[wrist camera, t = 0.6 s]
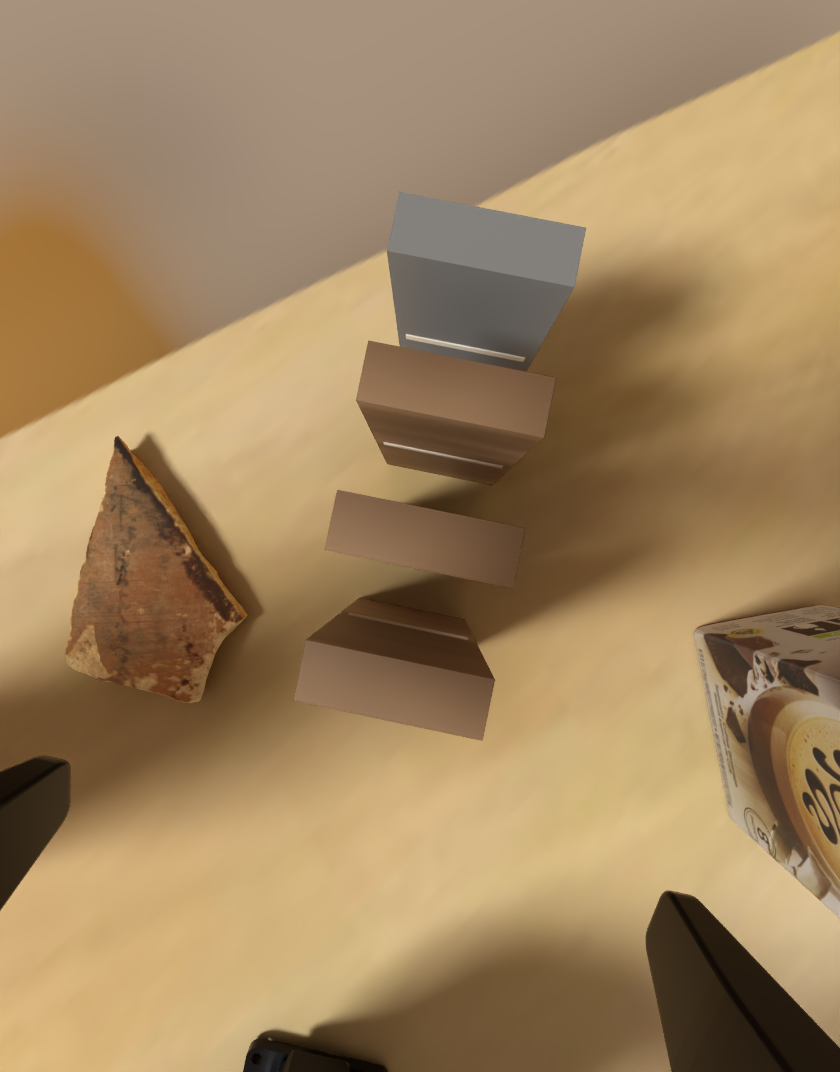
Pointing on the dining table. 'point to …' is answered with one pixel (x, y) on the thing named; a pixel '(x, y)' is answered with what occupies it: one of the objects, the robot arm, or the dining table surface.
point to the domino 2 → (451, 412)
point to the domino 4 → (398, 669)
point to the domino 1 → (478, 279)
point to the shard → (147, 592)
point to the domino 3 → (425, 539)
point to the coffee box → (781, 735)
